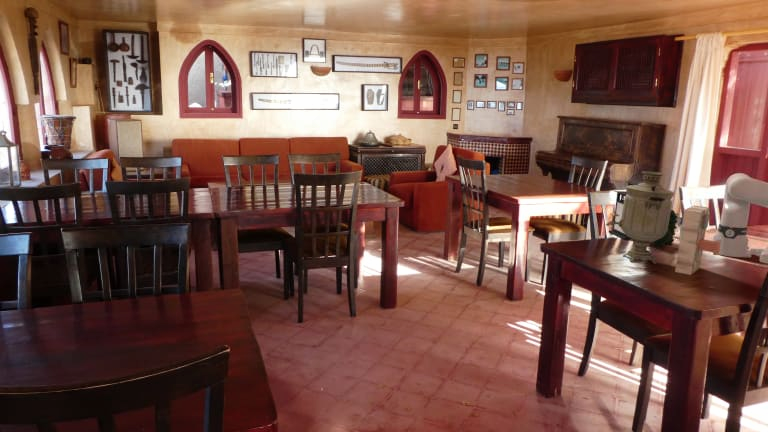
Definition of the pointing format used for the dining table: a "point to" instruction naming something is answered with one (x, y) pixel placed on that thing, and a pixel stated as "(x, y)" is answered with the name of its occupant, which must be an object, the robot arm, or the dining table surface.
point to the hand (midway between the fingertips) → (750, 250)
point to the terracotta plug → (709, 246)
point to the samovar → (645, 214)
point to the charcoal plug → (704, 221)
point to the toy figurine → (668, 237)
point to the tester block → (691, 240)
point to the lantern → (620, 213)
